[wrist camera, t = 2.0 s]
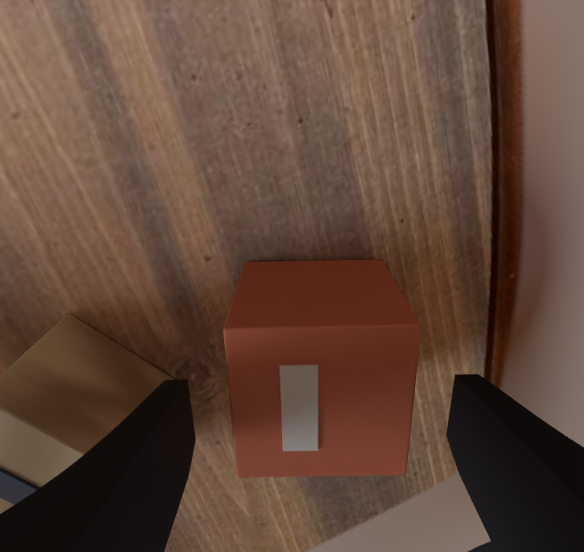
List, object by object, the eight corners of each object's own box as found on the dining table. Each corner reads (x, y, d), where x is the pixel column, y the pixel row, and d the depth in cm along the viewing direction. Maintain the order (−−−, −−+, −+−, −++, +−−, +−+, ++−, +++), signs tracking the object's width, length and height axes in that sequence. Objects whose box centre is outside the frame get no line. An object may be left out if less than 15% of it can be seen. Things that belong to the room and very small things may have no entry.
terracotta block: (375, 375, 17) (407, 478, 12) (251, 377, 17) (235, 481, 12) (383, 258, 15) (423, 326, 10) (244, 261, 15) (222, 330, 11)
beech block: (179, 381, 17) (136, 485, 12) (117, 455, 19) (57, 573, 14) (68, 311, 16) (-26, 397, 11) (11, 396, 18) (-94, 503, 13)
